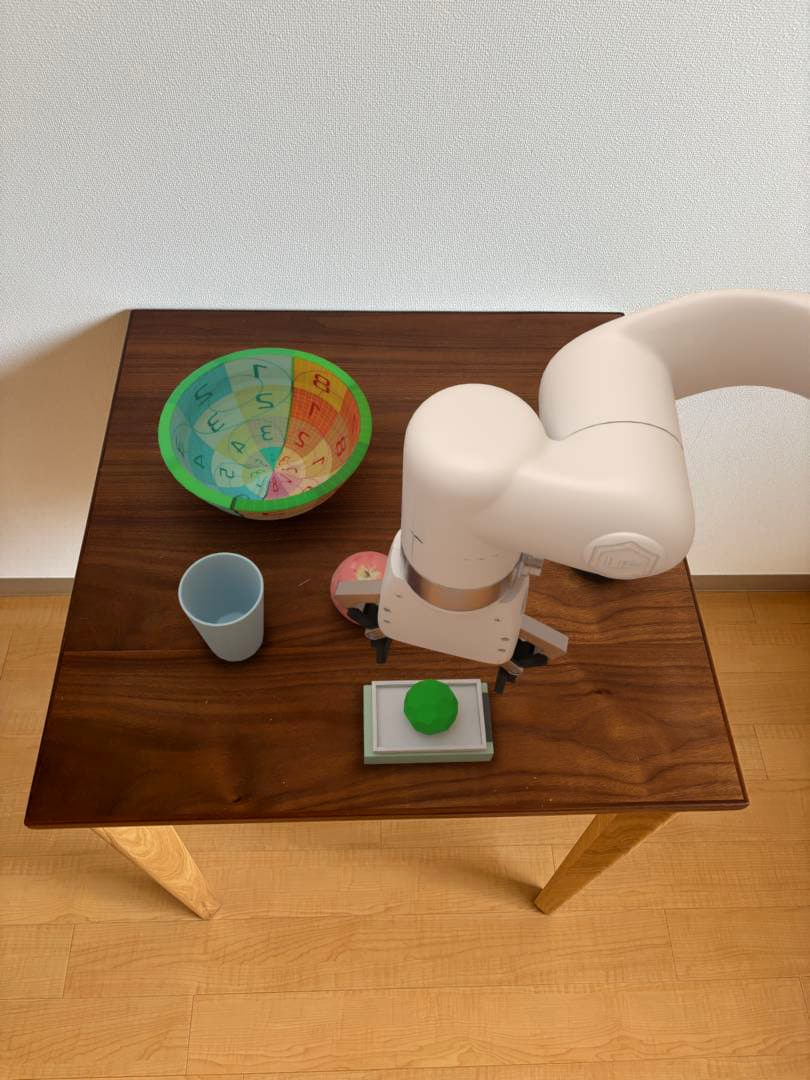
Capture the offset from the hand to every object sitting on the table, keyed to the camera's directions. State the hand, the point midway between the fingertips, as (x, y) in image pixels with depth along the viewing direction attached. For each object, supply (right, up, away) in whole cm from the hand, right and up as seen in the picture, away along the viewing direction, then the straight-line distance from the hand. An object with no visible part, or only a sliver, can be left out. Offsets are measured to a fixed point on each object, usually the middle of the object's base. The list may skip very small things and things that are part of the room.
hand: (443, 662), depth 66 cm
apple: (-7, +3, +20) cm, 21 cm away
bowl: (-18, +17, +28) cm, 38 cm away
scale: (-1, -8, +13) cm, 16 cm away
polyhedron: (-1, -7, +11) cm, 13 cm away
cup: (-20, 0, +17) cm, 27 cm away
